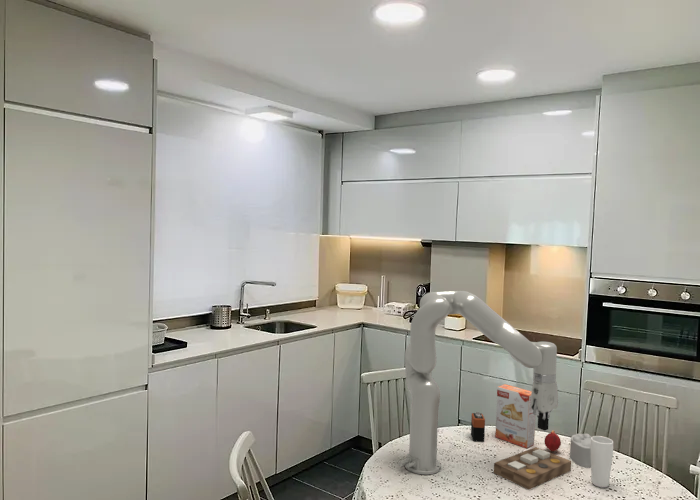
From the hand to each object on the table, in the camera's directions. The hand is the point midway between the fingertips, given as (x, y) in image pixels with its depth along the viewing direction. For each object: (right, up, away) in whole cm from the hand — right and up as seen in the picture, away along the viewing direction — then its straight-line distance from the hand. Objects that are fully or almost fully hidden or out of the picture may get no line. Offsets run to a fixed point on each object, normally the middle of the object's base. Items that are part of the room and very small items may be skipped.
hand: (542, 428), depth 190 cm
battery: (-17, -12, +24) cm, 32 cm away
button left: (-12, -12, -8) cm, 18 cm away
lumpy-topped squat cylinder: (+18, -14, +6) cm, 23 cm away
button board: (-5, -13, -5) cm, 15 cm away
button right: (0, -11, +1) cm, 11 cm away
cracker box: (-3, -12, +22) cm, 25 cm away
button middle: (-6, -11, -4) cm, 13 cm away
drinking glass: (+14, -14, -12) cm, 24 cm away
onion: (+8, -13, +13) cm, 20 cm away
